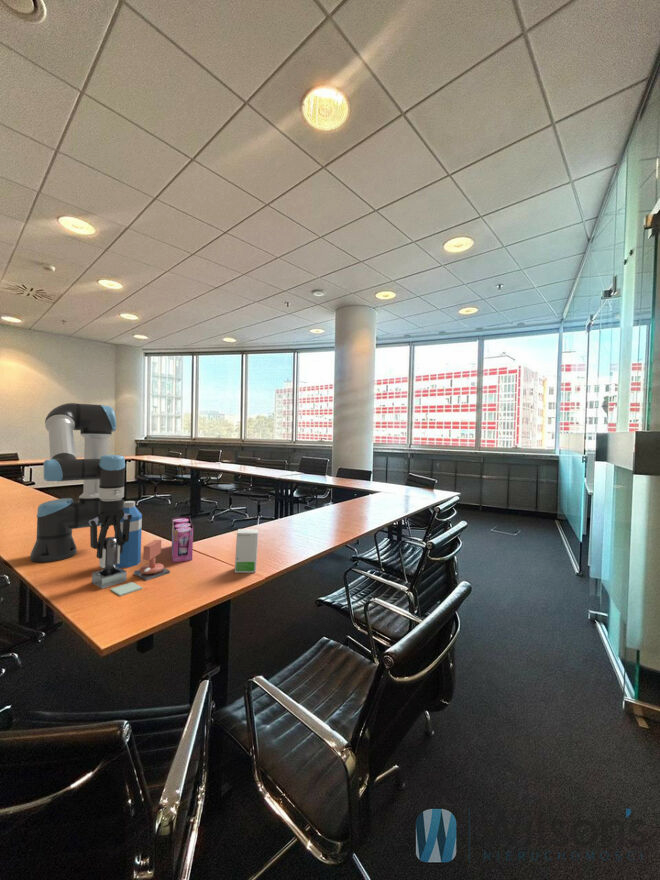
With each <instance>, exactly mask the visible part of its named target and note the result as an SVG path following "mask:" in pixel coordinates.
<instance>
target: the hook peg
mask: <svg viewBox="0 0 660 880" xmlns="http://www.w3.org/2000/svg"><path fill="white" fill-rule="evenodd" d="M103 548H105V549H106V556H105V568H102V570H103V576H104V577H105V576H108V575H112V574H115V573H116V555H117V537H115V536H108V537H107V536H106V538H105V543H104V547H103Z"/></svg>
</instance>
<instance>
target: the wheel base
mask: <svg viewBox="0 0 660 880" xmlns="http://www.w3.org/2000/svg"><path fill="white" fill-rule="evenodd" d="M170 573H171V570H170V569H168V568H166V567H164V569H163V570H162V571H160V572H158V573H154V574H142V573H140V569H138V570H134V571H133V575H134V576H137V577H138V578H140V579H142V580H144V581H149V580H152V579H155V578H158V577H162V576H164V575H168V574H170Z"/></svg>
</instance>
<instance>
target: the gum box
mask: <svg viewBox="0 0 660 880" xmlns="http://www.w3.org/2000/svg"><path fill="white" fill-rule="evenodd" d="M171 521H172V522H171V525H172V526H171V558H172V559H171V561H172V563H177V562H178V563H179V562H186V561H193V548H194V546H193V545H194V543H193V542H194V524H193V523H192V520H191V516H179V517H172V520H171Z"/></svg>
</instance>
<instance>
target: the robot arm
mask: <svg viewBox="0 0 660 880" xmlns="http://www.w3.org/2000/svg"><path fill="white" fill-rule="evenodd" d="M44 424H45V425H44V426H45V429H46V430H47V432H48V441H49V443H48V444H49V459H45V460H44V461H43V480H44V481H46V482H68V481H69V482H70V481H83V490H82V493H81V494H80V495H79V497H78V501H77V500H76V501H74V500H73V498H71V497H69V498H68V497H67V498H58V499H53V500H49V501H45V502H42V503H41V504H39V506H38V507H37V512H36V519H37V520H36V540H35V542H34V544H33V546H32V549H31V553H30V559H29V560H30V561H31V562H34V563H49V562H50V563H51V562H56V561H62V560H64V559H68V558H71V557H74V556H75V555H76V554H77V553H78V552H77V550H78V549H77V545H76V542H75V540H74V537H73V530H77V529H84V528H90V529H89V534H90V535H89V536H90V537H89V538H90V539H89V541H90V548H91V549H94V550H96V558H97V559H99V560H98V561H99V565H98V566H99V567H100V568H102V569H103V568H105V556H106V549H105V548H103V547H104V543H105V538H107V535H108V530H109V528H110V527H111V526H112V527H113V530H114V537H115V536H116V537H117V555H116V564H120V553H122V550H123V545H124V543H125V542H128V541H129V528H130V520H131V518H132V515H130V514H125V513H124V511H123V508H124V502H125V500H124V499H123V498H124V497H125V470H126V462H125V461H126V460H125V459H126V457H125V456H123V455H121V454H108V442H109V438H111V436H112V435H113V432H116V429H117V420H116V413H115V411H114V408H113V407H112V406H109V405H104V404H89V403H77V402H76V403H75V402H69V403H63V404H60V405H58V406H56V407H55V408H53V409H52V410H51V411H50V412H48V413H47V416H46V417H45V420H44ZM74 431H79V432H80V433H79V434H80V436H81V437H82V438H83V439H84V447H83V448H84V450H83V451H84V452H83V457H84V458H77V452H76V446H75V445H76V444H75V438H74V437H75V436H74ZM122 518H123V519H124V520H123V533H121V528H120V526H121V525H120V520H121V519H122ZM98 527H100V530H99V534H98Z"/></svg>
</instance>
